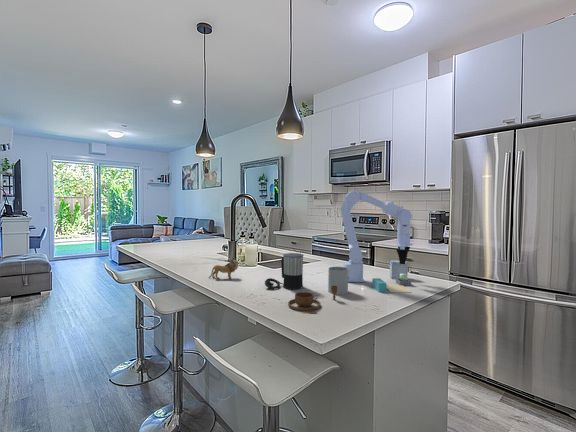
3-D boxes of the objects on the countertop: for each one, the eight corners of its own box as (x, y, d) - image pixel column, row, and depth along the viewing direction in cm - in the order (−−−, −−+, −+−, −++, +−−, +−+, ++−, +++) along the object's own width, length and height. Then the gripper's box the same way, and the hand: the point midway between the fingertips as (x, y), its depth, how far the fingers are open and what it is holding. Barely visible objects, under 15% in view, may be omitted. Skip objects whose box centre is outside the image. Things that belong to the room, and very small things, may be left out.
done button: (401, 281, 151) (401, 274, 151) (398, 279, 154) (398, 273, 154) (407, 281, 151) (408, 274, 151) (405, 279, 154) (405, 273, 154)
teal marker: (378, 292, 139) (378, 283, 138) (371, 285, 150) (371, 277, 149) (386, 292, 139) (386, 283, 139) (378, 285, 150) (378, 277, 150)
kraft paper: (390, 292, 138) (390, 291, 138) (382, 285, 150) (382, 284, 150) (411, 292, 138) (411, 291, 138) (401, 285, 150) (401, 284, 150)
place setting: (286, 300, 128) (286, 285, 128) (336, 299, 129) (336, 285, 129) (289, 315, 111) (289, 298, 111) (347, 314, 112) (347, 298, 112)
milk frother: (307, 287, 147) (307, 254, 146) (283, 294, 135) (283, 258, 134) (284, 281, 156) (285, 251, 156) (260, 287, 145) (260, 254, 144)
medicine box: (405, 277, 166) (405, 260, 166) (407, 279, 162) (407, 262, 162) (389, 277, 167) (389, 260, 167) (391, 279, 163) (391, 261, 162)
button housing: (399, 285, 150) (399, 281, 150) (395, 282, 155) (395, 278, 155) (410, 285, 150) (410, 281, 150) (406, 282, 155) (406, 278, 155)
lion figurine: (237, 276, 167) (237, 259, 167) (238, 278, 162) (238, 260, 162) (208, 277, 164) (208, 259, 164) (208, 280, 159) (208, 261, 158)
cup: (349, 290, 142) (349, 267, 141) (346, 295, 134) (346, 271, 133) (330, 288, 144) (330, 266, 144) (326, 293, 137) (326, 269, 136)
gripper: (412, 236, 145) (411, 266, 146) (413, 233, 159) (412, 260, 159) (395, 235, 148) (394, 264, 149) (398, 232, 162) (397, 259, 162)
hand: (402, 262), depth 154 cm, fingers open, 7 cm apart
